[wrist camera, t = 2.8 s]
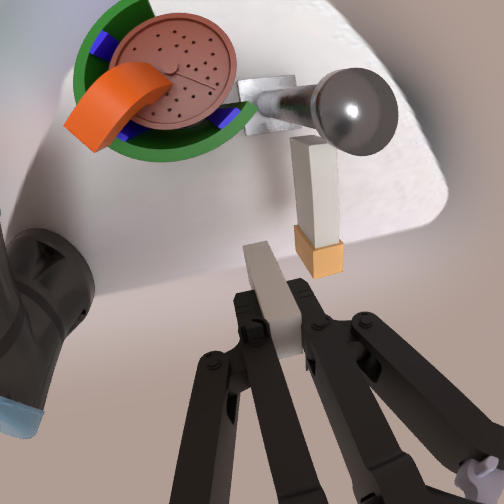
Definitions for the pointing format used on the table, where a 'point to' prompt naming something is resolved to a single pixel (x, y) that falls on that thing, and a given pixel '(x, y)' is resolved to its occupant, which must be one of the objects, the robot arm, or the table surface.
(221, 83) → the motor
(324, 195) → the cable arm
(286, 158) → the table surface
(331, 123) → the post
